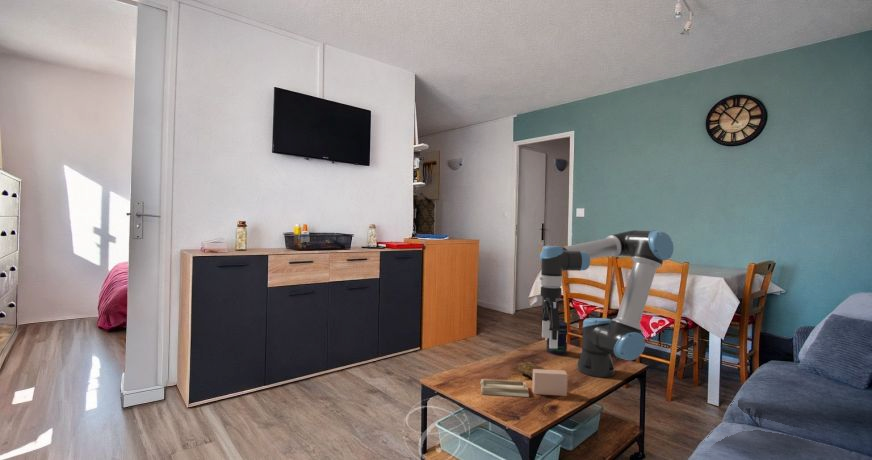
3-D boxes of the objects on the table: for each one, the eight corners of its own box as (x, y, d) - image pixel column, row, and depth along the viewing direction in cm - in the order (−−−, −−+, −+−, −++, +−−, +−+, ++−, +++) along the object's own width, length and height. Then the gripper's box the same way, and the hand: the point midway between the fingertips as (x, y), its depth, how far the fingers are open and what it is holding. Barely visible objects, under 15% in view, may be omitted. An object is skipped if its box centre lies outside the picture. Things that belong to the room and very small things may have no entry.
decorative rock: (509, 372, 168) (537, 385, 156) (509, 363, 167) (537, 376, 155) (526, 366, 174) (554, 378, 162) (527, 357, 174) (555, 368, 162)
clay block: (564, 391, 149) (564, 370, 148) (566, 396, 145) (567, 374, 144) (532, 389, 149) (532, 368, 149) (534, 394, 145) (534, 372, 145)
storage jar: (550, 355, 191) (551, 325, 191) (543, 349, 200) (544, 320, 200) (570, 355, 191) (571, 325, 191) (562, 349, 201) (563, 320, 201)
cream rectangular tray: (480, 383, 153) (480, 377, 153) (524, 385, 152) (524, 380, 152) (482, 394, 143) (482, 388, 143) (528, 396, 142) (529, 391, 142)
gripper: (534, 281, 160) (533, 333, 160) (548, 291, 135) (546, 352, 135) (553, 282, 159) (551, 334, 159) (570, 292, 134) (568, 353, 134)
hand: (549, 342), depth 147 cm, fingers open, 13 cm apart
